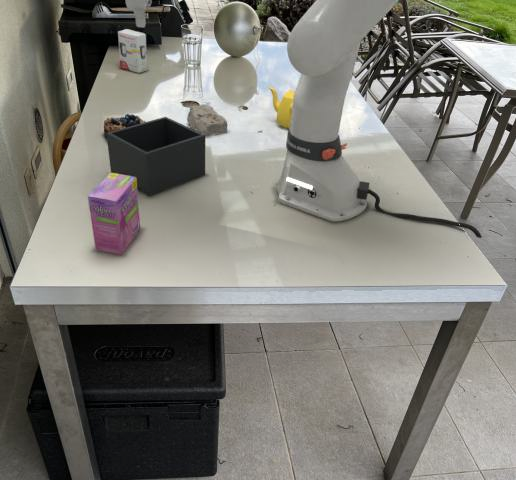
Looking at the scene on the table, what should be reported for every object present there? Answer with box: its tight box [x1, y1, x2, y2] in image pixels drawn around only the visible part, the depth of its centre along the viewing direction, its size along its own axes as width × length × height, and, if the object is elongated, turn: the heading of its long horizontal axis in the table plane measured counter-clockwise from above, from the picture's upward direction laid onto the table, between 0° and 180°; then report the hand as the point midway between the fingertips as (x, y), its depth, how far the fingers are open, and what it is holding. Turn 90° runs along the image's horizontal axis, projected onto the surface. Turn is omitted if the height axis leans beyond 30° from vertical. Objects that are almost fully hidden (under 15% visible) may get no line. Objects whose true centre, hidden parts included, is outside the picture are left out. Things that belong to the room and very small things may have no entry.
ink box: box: [117, 28, 148, 74], centre depth 186 cm, size 9×5×12 cm, turn 62°
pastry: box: [103, 113, 147, 140], centre depth 144 cm, size 11×12×6 cm
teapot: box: [267, 86, 295, 129], centre depth 158 cm, size 14×13×10 cm
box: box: [87, 172, 141, 255], centre depth 104 cm, size 10×6×12 cm, turn 168°
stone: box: [186, 104, 229, 136], centre depth 154 cm, size 13×6×10 cm
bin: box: [106, 116, 206, 197], centre depth 128 cm, size 15×18×10 cm
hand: (144, 15), depth 108 cm, fingers open, 8 cm apart
